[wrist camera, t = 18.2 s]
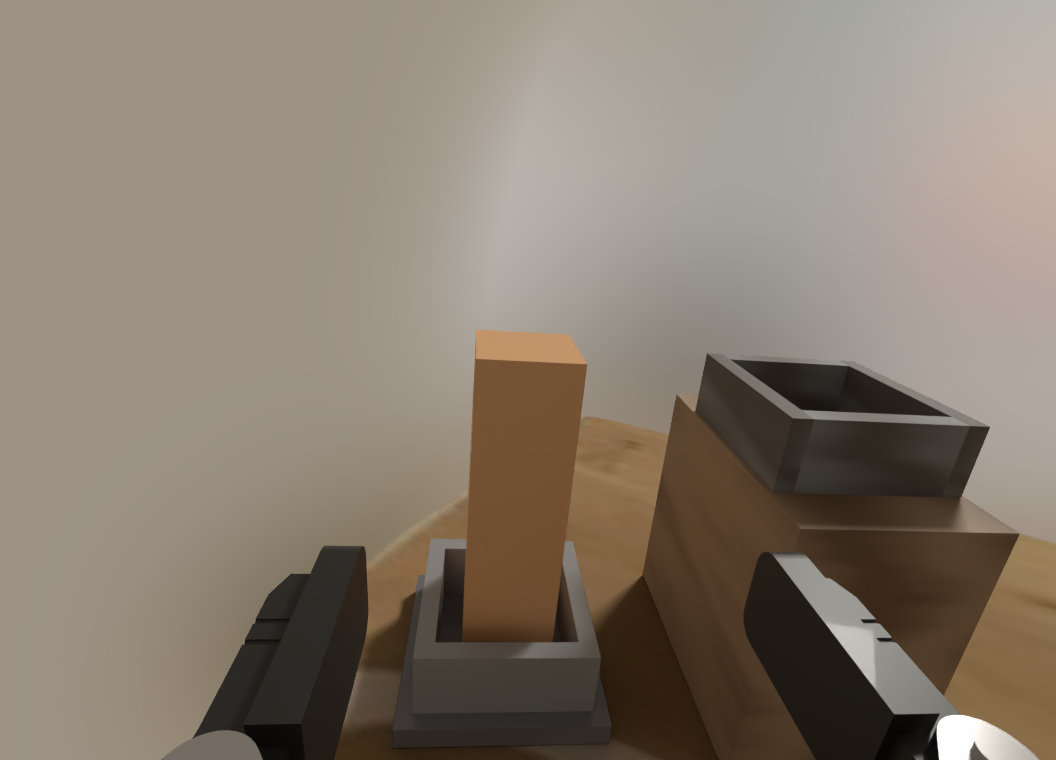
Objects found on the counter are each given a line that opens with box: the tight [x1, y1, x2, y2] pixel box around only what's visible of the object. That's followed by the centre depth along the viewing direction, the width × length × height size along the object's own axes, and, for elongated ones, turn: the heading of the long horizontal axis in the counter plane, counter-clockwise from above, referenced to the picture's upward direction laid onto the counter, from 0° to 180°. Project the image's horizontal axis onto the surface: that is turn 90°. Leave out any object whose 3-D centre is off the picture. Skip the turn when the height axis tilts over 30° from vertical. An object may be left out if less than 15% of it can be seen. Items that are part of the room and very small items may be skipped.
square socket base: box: [643, 354, 1020, 760], centre depth 25 cm, size 8×12×15 cm, turn 4°
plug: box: [462, 330, 587, 642], centre depth 23 cm, size 4×4×15 cm
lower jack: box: [392, 539, 612, 748], centre depth 26 cm, size 9×9×4 cm
